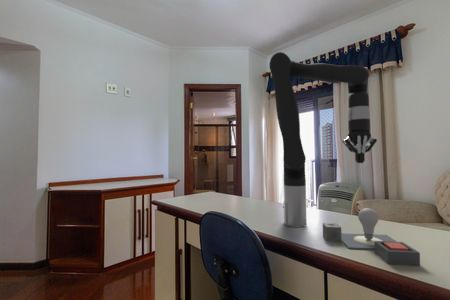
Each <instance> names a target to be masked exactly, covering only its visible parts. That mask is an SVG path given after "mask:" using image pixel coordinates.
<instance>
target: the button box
mask: <svg viewBox="0 0 450 300" xmlns="http://www.w3.org/2000/svg"><path fill="white" fill-rule="evenodd" d="M384 242H388V241H374V245H375V250H374V253H375V254H376V255H377V256H378V257H379V258H381V259H382V260H383V261H384V262H385V263H386V262H387V263H386V264H388V265H398V266H403V265H404V266H420V265H421V254H420V251H418V250H416V249H414V248H413V247H411V246H409V245H408V244H406V243H405V242H403V241H397V242H389V243H400V244H402V245H404V246H405V247H407V248H408V251H400V250H389V249H388V248H386V247H385V246H384Z"/></svg>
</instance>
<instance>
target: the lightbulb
mask: <svg viewBox="0 0 450 300" xmlns="http://www.w3.org/2000/svg"><path fill="white" fill-rule="evenodd" d="M357 217H358V221H359V223H360V224H361V225H362V231H363V234H364V236H365V238H366V239H367V240H371V239H373V234H374V233H375V228H376V225H377V224H378V222H379V215H378V213H377V212H376V211H375V210H374V209H372V208H369V207H365V208H362V209H360V211H358V215H357Z"/></svg>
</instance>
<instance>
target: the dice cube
mask: <svg viewBox="0 0 450 300" xmlns="http://www.w3.org/2000/svg"><path fill="white" fill-rule="evenodd" d="M341 233H342V227H341V226H340V225H339V224H338V223H337V222H336V223H334V222H333V223H332V222H322V237H323V238H324V239H325V241H327V242H341V243H343V242H342V240H341Z"/></svg>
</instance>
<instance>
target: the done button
mask: <svg viewBox="0 0 450 300" xmlns="http://www.w3.org/2000/svg"><path fill="white" fill-rule="evenodd" d="M384 246H385V247H386V248H388V249H389V250H400V251H408V248H407V247H405V246H404V245H402V244H400V243H389V242H384Z"/></svg>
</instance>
